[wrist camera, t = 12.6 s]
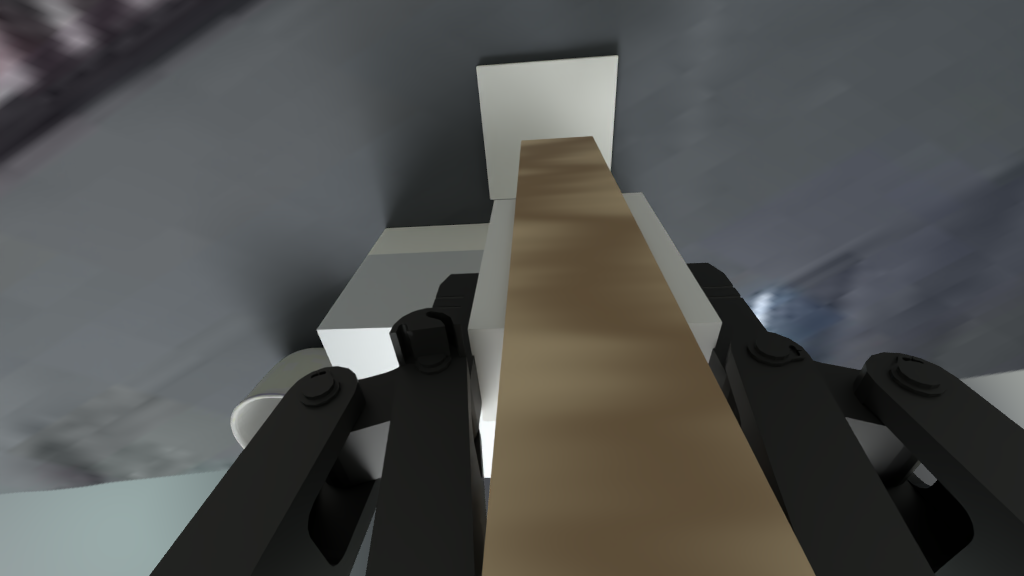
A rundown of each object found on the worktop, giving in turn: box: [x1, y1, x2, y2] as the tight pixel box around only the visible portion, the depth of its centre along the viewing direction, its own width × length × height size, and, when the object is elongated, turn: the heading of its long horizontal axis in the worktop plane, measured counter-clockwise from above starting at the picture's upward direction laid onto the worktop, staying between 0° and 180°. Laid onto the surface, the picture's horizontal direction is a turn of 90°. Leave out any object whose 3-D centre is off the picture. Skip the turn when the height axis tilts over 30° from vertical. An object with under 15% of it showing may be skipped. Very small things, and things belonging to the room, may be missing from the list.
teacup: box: [231, 348, 333, 449], centre depth 35 cm, size 14×11×8 cm
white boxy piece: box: [317, 223, 496, 478], centre depth 28 cm, size 16×13×12 cm
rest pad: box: [476, 55, 618, 200], centre depth 25 cm, size 8×8×1 cm
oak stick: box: [482, 136, 816, 576], centre depth 12 cm, size 3×3×18 cm
